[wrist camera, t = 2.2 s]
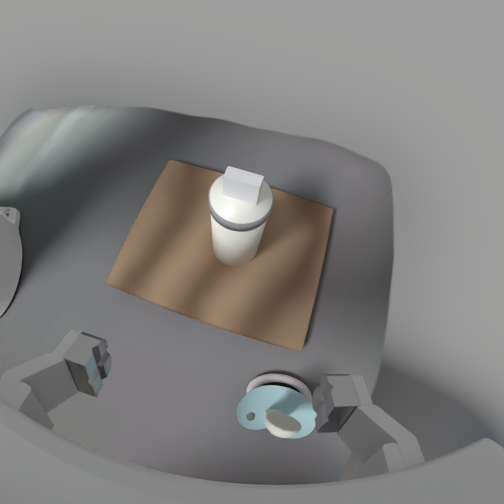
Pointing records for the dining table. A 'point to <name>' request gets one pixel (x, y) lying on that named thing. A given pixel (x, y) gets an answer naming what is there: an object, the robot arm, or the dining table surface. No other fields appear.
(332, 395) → the robot arm
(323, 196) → the dining table surface
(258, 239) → the white bar-topped cylinder
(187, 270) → the board
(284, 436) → the pacifier
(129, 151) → the dining table surface
